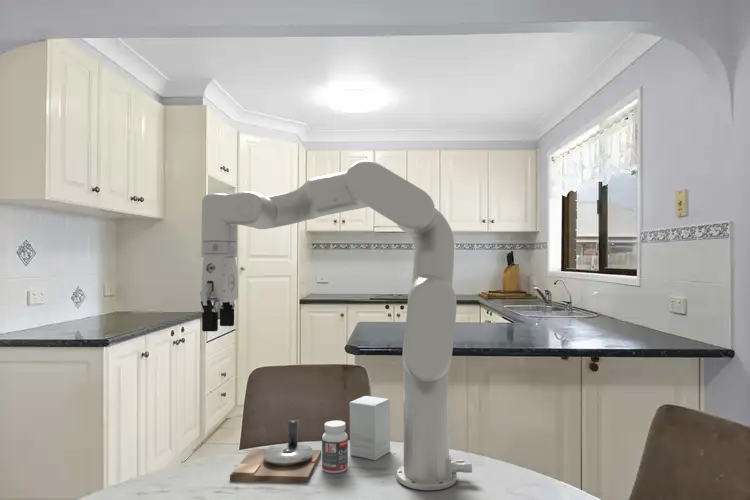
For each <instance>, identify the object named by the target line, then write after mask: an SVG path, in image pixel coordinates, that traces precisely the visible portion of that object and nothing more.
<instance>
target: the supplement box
mask: <svg viewBox="0 0 750 500" xmlns="http://www.w3.org/2000/svg"><path fill="white" fill-rule="evenodd" d="M348 403H349V405H348V406H349V407H348V408H349V455H350V456H354V457H357V458H358V457H360V458H363V459H368V460H372V461H376V460H378V459H380V458H382V457H383V456H385V455H386V454H388V453H390V452H391V416H390V414H391V413H390V411H391V410H390V405H391V404H390V399H389V398H383V397H378V396H370V395H363V396H361V397H359V398H358V397H357V398H356V399H354V400H352V401H349V402H348Z"/></svg>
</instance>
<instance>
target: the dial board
mask: <svg viewBox="0 0 750 500" xmlns="http://www.w3.org/2000/svg"><path fill="white" fill-rule="evenodd" d="M266 449H267V448H252V449H251V450H250V451H249V453H248V454H246V456H245V457H244V458H243V460H241V462H240V463H239V464H238V465H237V466H236V467H235V468H234V470H233V471H232V472H231V473H230V474H229V481H231V482H268V483H269V482H270V483H271V482H272V483H306V484H308V483H309V481H310V479H311V477H312V475H313V473H314V471H315V469H316V467H317V465H318V463H319V460H320V459H321V458H322V449H312V450H313V456H312V458H311V459H309V460H308V461H306V462H303V463H300V464H296V465H287V466H280V465H272V464H269V463H267V462H265V461H264V459H263V453H264V451H265V450H266Z"/></svg>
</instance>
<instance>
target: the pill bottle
mask: <svg viewBox="0 0 750 500" xmlns="http://www.w3.org/2000/svg"><path fill="white" fill-rule="evenodd" d="M323 425H324V431H325V432H323V434H322V438H321V467H322V468H321V469H322V470H323V471H324V472H325V473H329V474H340V473H344V472H345V471H346V470H348V467H349V466H348V465H349V437H348V433H346V432H345V430H346V428H347V427H346V422H345V421H343V420H330V421H329V420H328V421H326V422H325V423H324V424H323Z"/></svg>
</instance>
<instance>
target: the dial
mask: <svg viewBox="0 0 750 500" xmlns="http://www.w3.org/2000/svg"><path fill="white" fill-rule="evenodd" d="M298 425H299V423H298V420H296V419H291V420H288V421H287V443H281V444H275V445H272V446H270V447H268V448H265V449H266V450H265V451H264V453H263V459H264V461H265V462H267V463H269V464H272V465H280V466H287V465H296V464H300V463H303V462H306V461H308V460H309V459H311V458H312V456H313V450H314V449H313V448H312V447H311V446H310V445H307V444H303V443H298V439H299V438H298V429H299V427H298Z"/></svg>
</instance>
